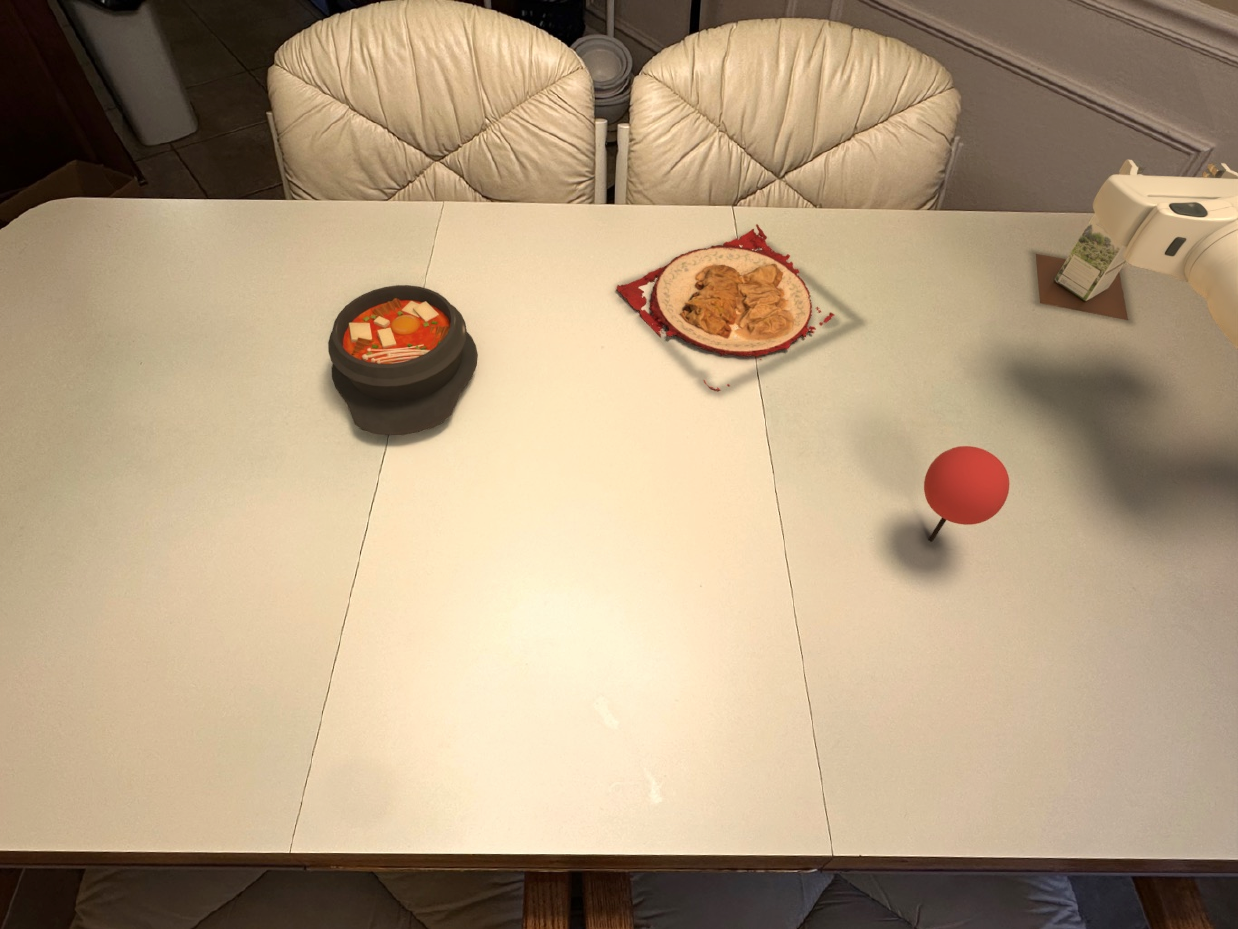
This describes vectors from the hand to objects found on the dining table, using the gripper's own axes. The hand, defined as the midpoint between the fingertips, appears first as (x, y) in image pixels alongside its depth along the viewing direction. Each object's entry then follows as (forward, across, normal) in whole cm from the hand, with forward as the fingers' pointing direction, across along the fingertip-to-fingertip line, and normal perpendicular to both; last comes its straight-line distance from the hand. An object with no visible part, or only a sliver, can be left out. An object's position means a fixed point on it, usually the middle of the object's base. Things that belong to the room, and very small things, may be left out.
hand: (1170, 167), depth 84 cm
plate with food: (+3, +45, +26) cm, 52 cm away
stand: (+10, -6, +26) cm, 29 cm away
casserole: (-11, +89, +26) cm, 94 cm away
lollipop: (-35, +26, +26) cm, 51 cm away
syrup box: (+10, -6, +25) cm, 28 cm away
